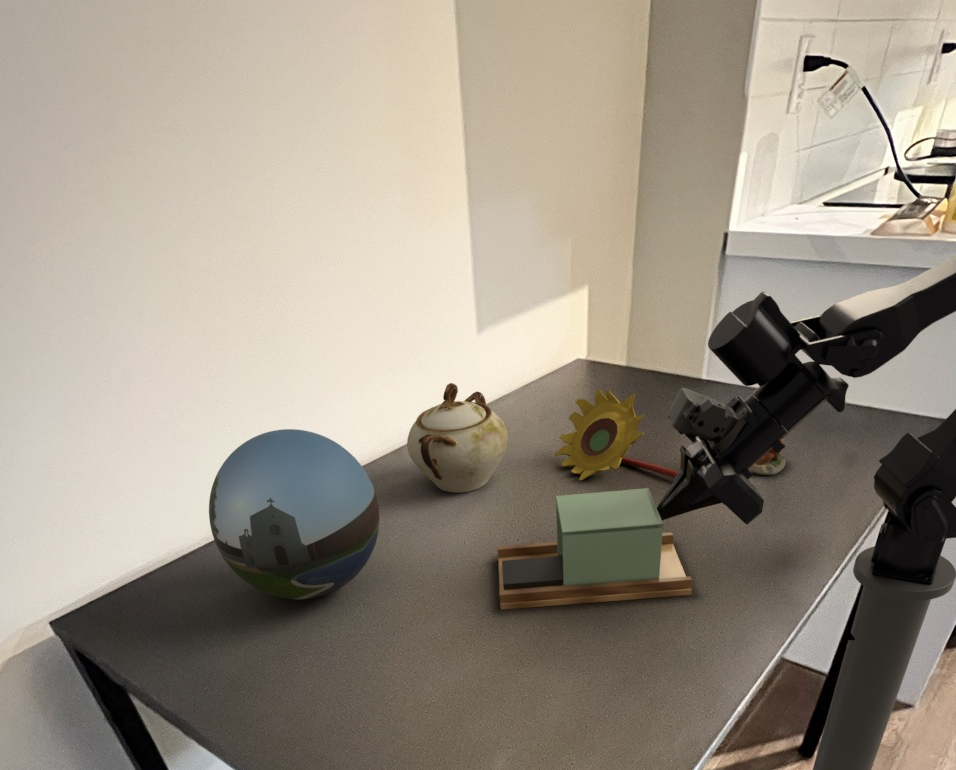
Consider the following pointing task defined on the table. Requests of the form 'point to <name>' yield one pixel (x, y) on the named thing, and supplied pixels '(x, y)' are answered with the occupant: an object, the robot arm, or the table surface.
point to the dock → (666, 586)
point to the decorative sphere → (294, 514)
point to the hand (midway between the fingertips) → (657, 516)
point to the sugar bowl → (458, 442)
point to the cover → (609, 537)
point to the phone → (532, 572)
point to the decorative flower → (604, 436)
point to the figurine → (769, 463)
